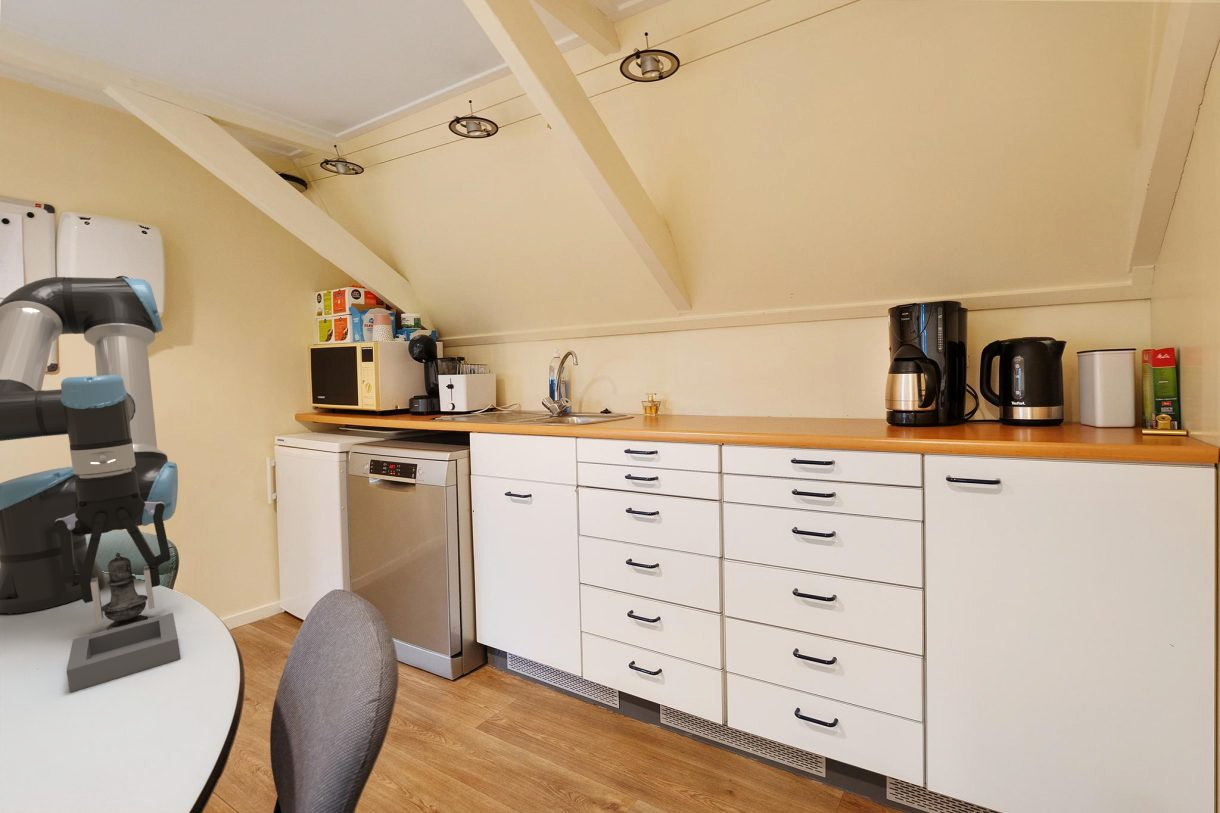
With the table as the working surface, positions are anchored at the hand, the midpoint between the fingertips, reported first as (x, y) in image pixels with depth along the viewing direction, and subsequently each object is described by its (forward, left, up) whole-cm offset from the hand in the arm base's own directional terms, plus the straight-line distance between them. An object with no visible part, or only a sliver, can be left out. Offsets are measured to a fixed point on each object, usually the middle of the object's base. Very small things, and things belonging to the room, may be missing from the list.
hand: (126, 612), depth 95 cm
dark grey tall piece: (0, 0, -2) cm, 2 cm away
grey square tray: (+15, 0, -2) cm, 15 cm away
